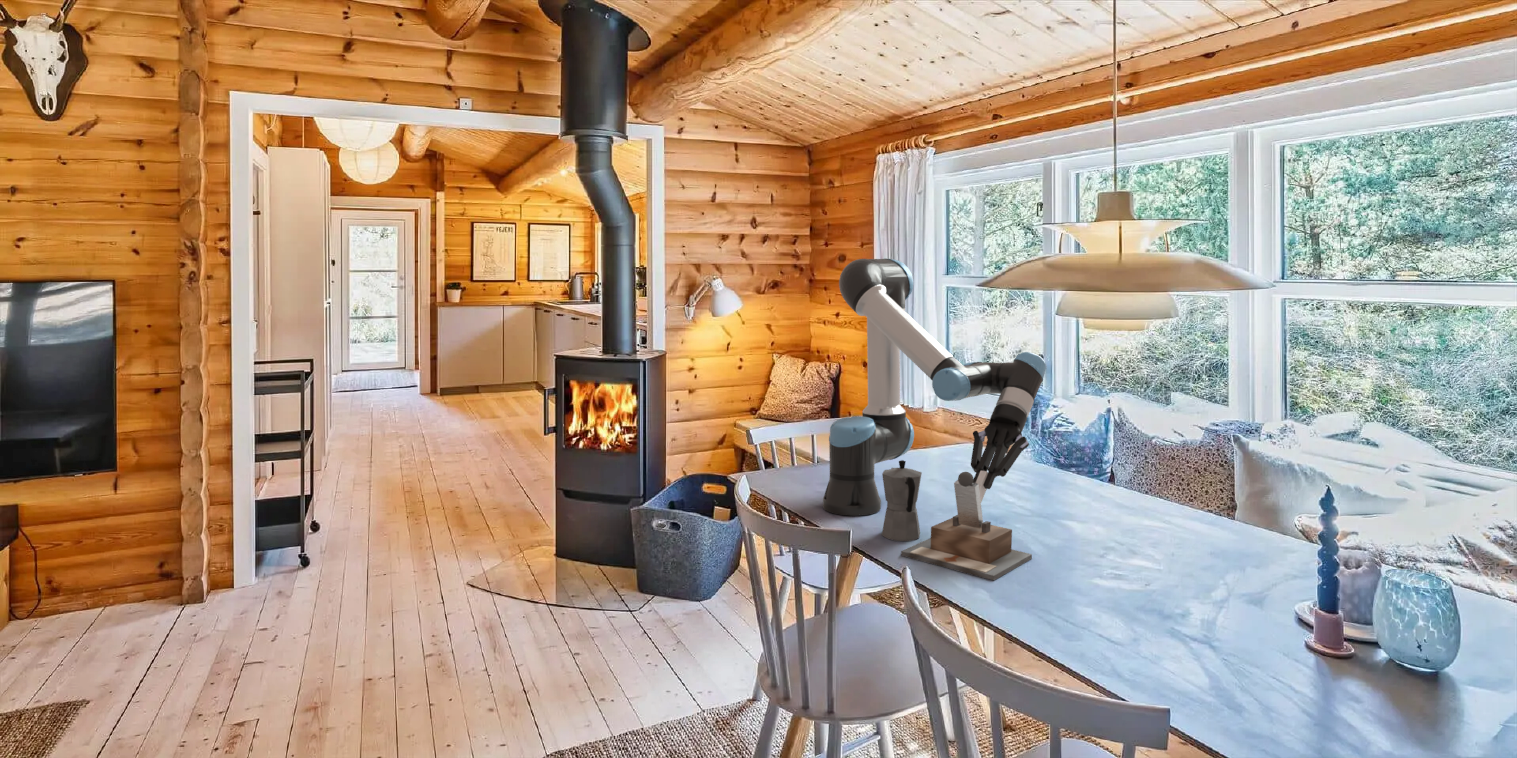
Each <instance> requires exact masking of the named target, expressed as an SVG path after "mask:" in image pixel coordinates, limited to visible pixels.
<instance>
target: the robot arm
mask: <svg viewBox="0 0 1517 758" xmlns="http://www.w3.org/2000/svg"><path fill="white" fill-rule="evenodd" d="M841 271H842V272H841V273H840V275H839V278H838V279H839V280H838V288H839V292H840V294H841V296H842V298H843V300H844V301H845V303H846V305H848V306H849V307H850V308H851V309H852V310H853V311H854V312H855V313H856V314H857V316H860V317H866V337H867V339H866V341H867V348H866V349H867V351H866V352H867V356H866V358H867V404H866V405H867V406H865V407H864V409H863V410H862V416H859V415H857V416H851V417H850V416H847V417H842V418H839V419H837V420H835V421H834V422H832V423H831V425H830V428H829V436H828V441H829V443H828V444H829V445H828V446H829V447H828V448H829V479H828V483H827V485H826V489H825V491H824V495H823V498H822V508H823V510H824V511H826V512H828V513H831V514H835V515H840V516H850V517H853V516H854V517H855V516H856V517H857V516H867V515H872V514H876V513H878V512H880V511H881V509H882V499H881V497H880V494H879V491H878V487H877V484H876V480H875V464H879V463H883V462H886V461H891V460H892V461H893V460H896V459H898V458H899V457H902V456H904V455H905V454H907V452H909V451H910V449H911V448H912V446H913V444H914V439H915V430H914V427H913V423H911V422H910V419H908V417H906V416H907V414H906V413H907V411H906V409H905V408H904V407H903V406H901V403H900V402H901V389H900V388H901V382H900V381H901V379H900V377H901V372H900V371H901V369H900V368H901V367H900V364H901V363H900V362H901V361H900V359H901V355H900V354H901V353H900V351H901V352H902V353H903V354H904V355H905V356H906V357H907V358H908V359H909V360H910V361H912V362H913V364H914V365H915V366H917V367H918V368H919V370H920V371H922V373H923V374H925V375H926V376H927V377H928V379H930V380H931V386H932V389H933V392H934V394H935V396H936V397H937V398H939V399H940V400H942V401H946V402H953V401H954V402H955V401H961V400H964V399H967V398H973V397H977V396H982V395H987V394H988V395H989V394H992V395H995V394H996V395H998V394H999V397H998V398H997V401H996V403H995V406H994V409H993V411H992V412H991V413H992V414H991V416H990V419H989V423H988V424H987V426H985V428H984V430H982V431H977V430H974V431H972V436H973V439H974V440H973V446H972V447H973V448H972V453H971V458H970V466H971V468H972V470H973V471H974V473H975V475H974V476H973V483H977V484H979V491H980V500H981V503H982V502H983V499H984V497H985V494H986V491H987V490H991V488H992V486H993V484H994V481H995V478H997V477H1002V478H1004V477H1006V475H1007V473H1008V472H1009V471H1010V469H1011V468H1012V467H1013V465H1014V464H1015V462H1016V460H1017V459H1018V458H1019V456H1020V455H1021V453H1022V452H1024V450H1025V449H1027V448H1028V447H1029V445H1030V443H1029V442H1028V440H1027V438H1026V436H1023V433H1022V432H1023V430H1024V428H1025V425H1026V423H1027V421H1028V417H1029V415H1030V412H1031V410H1032V407H1033V405H1034V403H1035V399H1036V396H1037V393H1038V392H1039V389H1040V387H1041V385H1042V383H1043V382H1044V378H1045V374H1046V371H1047V363H1046V362H1045V360H1044V358H1043V357H1041V356H1040V355H1039V354H1036V353H1033V352H1030V351H1023V352H1021V353H1018V354H1017V355H1016V356H1015V358H1014V359H1013V361H1011V362H1007V361H1006V362H990V361H989V362H985V361H973V362H972V361H971V362H966V363H965V364H963V363H961V362H960V361H959V360H957V358H955V357H954V355H952V354H951V353H950V352H949V351H948V350H947V349H946V348H945V347H944V346H943V345H942V344H940V343H939V342H938V341H937V340H936V339H935V338H934V337H933V336H932V335H931V334H930V333H929V332H928V331H927V330H925V329H924V328H923V326H921V325H920V324H919V323H918V322H917V321H916V320H915V319H914V318H913V317H912V316H910V314H908V312H906V300H908V299H909V298H910V295H911V294H912V293H913V290H914V278H913V274H912V272H911V270H910V267H908V266H907V265H906V264H905V263H904V262H902V261H901V260H898V259H894V258H893V259H892V258H859V259H856V260H855V259H854V260H852V261H851V262H850V263H848V264H847V265H846V266H845V267H844V268H843V269H842V270H841ZM985 438H986V439H987V440H986V445H985V448H984V442H985ZM983 448H984V450H983Z"/></svg>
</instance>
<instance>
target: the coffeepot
mask: <svg viewBox="0 0 1517 758" xmlns="http://www.w3.org/2000/svg"><path fill="white" fill-rule="evenodd" d="M898 466H899V467H891V468H890V469H884V470H883V472H882V473H881V474H882V475H881V476H882V481H883V489H884V497H885V501H886V503H887V504H886V510H885V515H884V520H883V526H882V532H881V536H883V537H884V538H886V539H888V540H891V541H894V542H911V541H915V540H918V539H919V538H920V536H921V529H920V528H921V527H920V522H919V514H918V509H917V502H918V497H919V492H920V486H921V478H922V473H923V472H922V471H918V470H915V469H913V468H907V467H906V460H903V459H901V460H899V461H898Z"/></svg>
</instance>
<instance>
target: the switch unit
mask: <svg viewBox="0 0 1517 758" xmlns="http://www.w3.org/2000/svg"><path fill="white" fill-rule="evenodd" d="M991 523H992V522H991V521H989V520H986V521H983V523H982V527H981V528H975V527H971V526H966V525H962V524H959V520H958V514H956V515H954V516H952V517H951V518H949V519H946V520H944V521H941V522H939V523H937V524H935V525H933V526H930V538H927V539H925V540H923V541H921V542H918V543H917V544H914V545H912V546H909V547H907V548H905V549H902V550H901V551H900V556H902V557H906V558H909V559H913V560H916V561H920V562H922V563H923V562H924V563H928V564H932V565H935V566H938V567H943V568H945V569H951V570H953V569H954V571H956V570H957V572H961V573H964V574H967V573H968V575H972V576H975V577H979V578H983V579H986V580H989V581H993V580H994V581H996V580H997V579H999V578H1001V577H1003V576H1004V575H1006V574H1008V573H1010V572H1012V571H1013V570H1014V569H1016V568H1018V567H1020V566H1022V565H1023V564H1025V563H1027V562H1029V561H1030V560H1032V559H1033V558H1032V557H1033V554H1032V553H1029V552H1025V551H1021V550H1020V551H1019V550H1017V549H1013V548H1012V545H1013V543H1012V542H1013V541H1012V539H1013V529H1011V528H1007V527H1003V526H999V525H998V526H997V525H993V524H991Z"/></svg>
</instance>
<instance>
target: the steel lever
mask: <svg viewBox="0 0 1517 758" xmlns="http://www.w3.org/2000/svg"><path fill="white" fill-rule="evenodd" d="M973 479H974V475H973V474H972V473H971V472H969V471H962V472H961V473H960V474H958V477H957V480H956V481H954V482H953V486H954V494H955V501H956V504H955V505H956V510H957V511H956V512H957V515H958V520H959V524H962V525H966V526H971V527H975V528H981V527H982V523H983V522H984V519H983V512H982V511H983V510H982V502H981V500H980V491H979V484H977V483H973Z"/></svg>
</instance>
